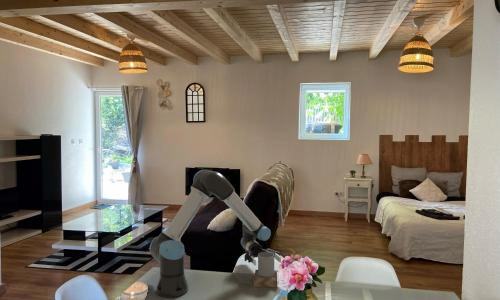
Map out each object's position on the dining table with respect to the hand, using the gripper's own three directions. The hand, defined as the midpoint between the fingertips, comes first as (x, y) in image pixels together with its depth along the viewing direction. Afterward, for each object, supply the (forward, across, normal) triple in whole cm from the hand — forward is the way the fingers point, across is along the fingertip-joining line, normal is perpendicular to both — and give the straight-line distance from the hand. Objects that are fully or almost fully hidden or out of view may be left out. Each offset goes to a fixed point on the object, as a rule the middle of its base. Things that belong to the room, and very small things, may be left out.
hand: (268, 261), depth 188 cm
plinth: (-2, 0, -12) cm, 12 cm away
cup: (-2, 0, -8) cm, 8 cm away
